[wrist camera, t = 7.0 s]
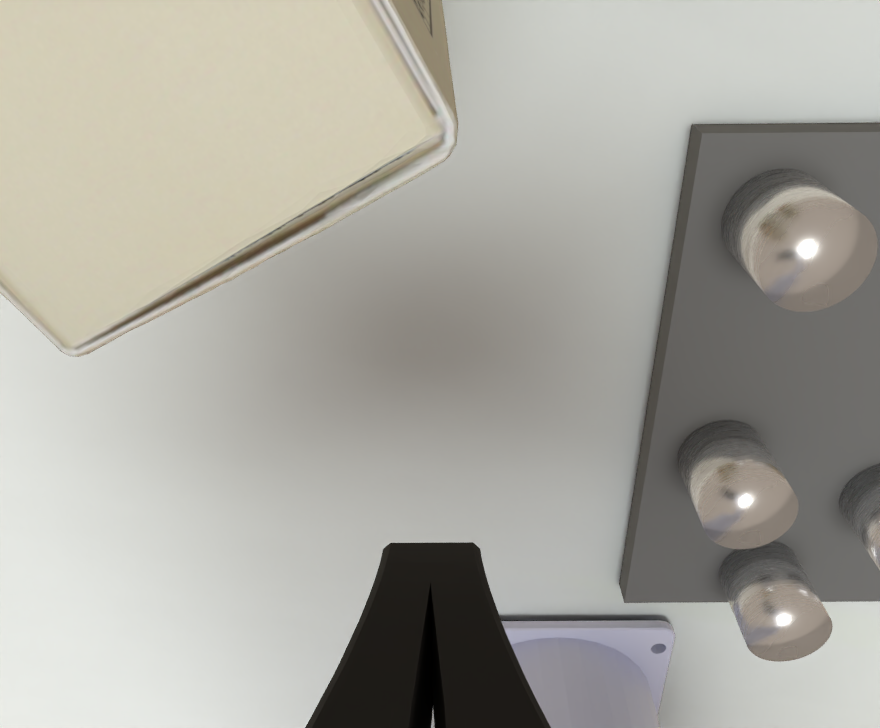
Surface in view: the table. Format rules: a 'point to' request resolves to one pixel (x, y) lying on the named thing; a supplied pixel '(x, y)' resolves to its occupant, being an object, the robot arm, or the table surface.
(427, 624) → the robot arm
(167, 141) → the skincare box
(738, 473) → the spacers
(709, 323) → the mat
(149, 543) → the table surface
